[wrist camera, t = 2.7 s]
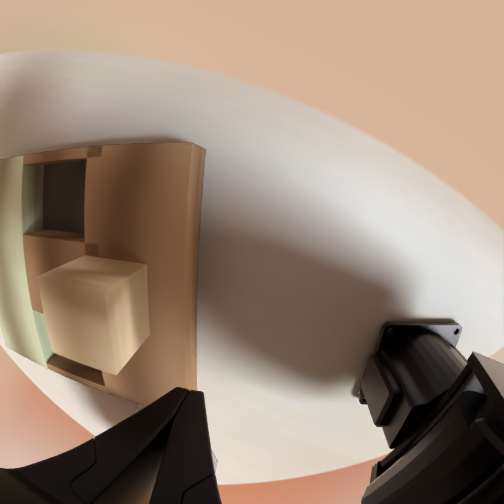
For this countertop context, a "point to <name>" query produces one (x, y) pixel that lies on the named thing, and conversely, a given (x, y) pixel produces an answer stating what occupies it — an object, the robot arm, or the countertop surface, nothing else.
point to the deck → (106, 251)
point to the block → (96, 310)
